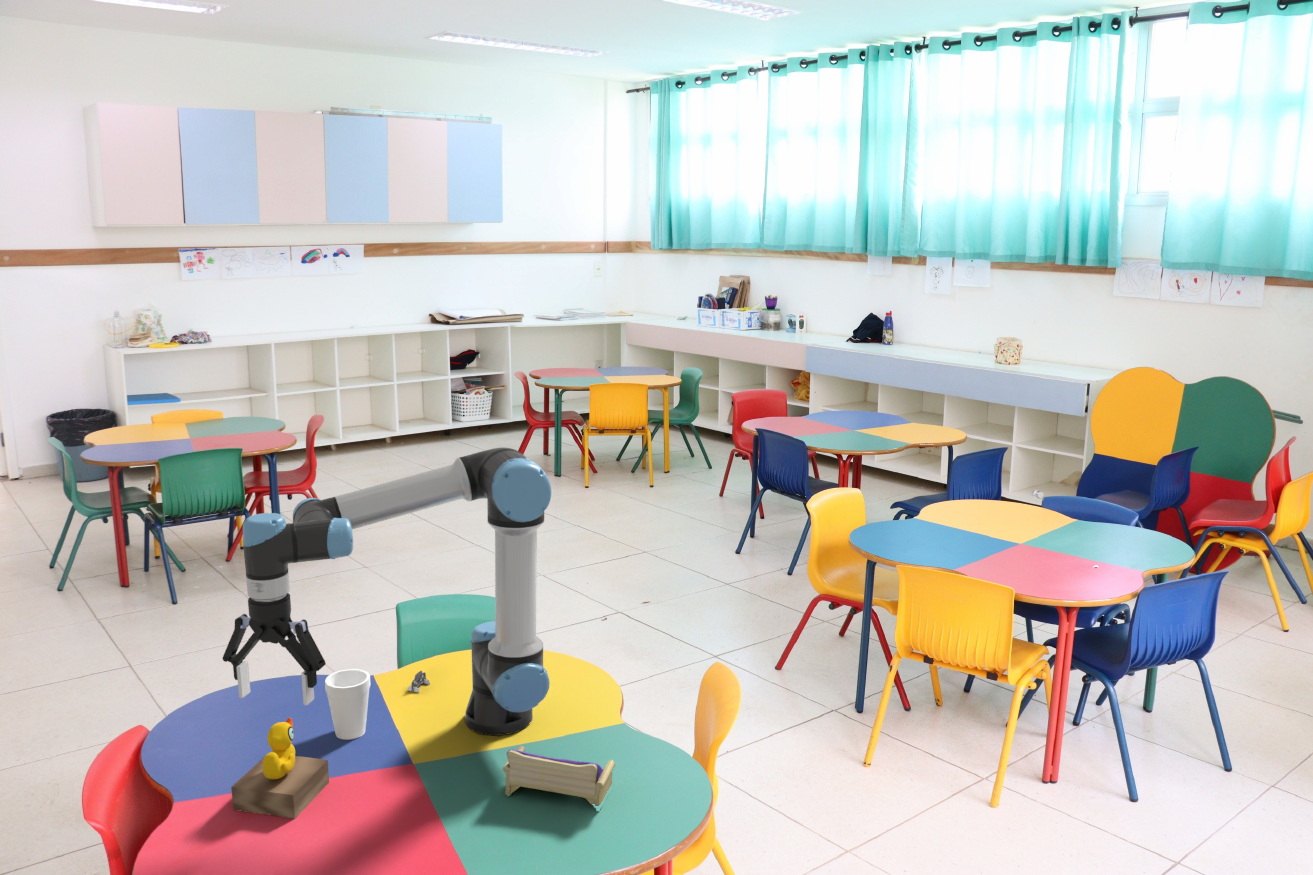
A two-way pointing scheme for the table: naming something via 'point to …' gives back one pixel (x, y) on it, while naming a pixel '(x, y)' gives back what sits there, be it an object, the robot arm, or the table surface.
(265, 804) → the walnut base
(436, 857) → the table surface
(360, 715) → the foam cup
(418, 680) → the grey toy animal
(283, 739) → the duckling
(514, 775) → the toy sofa
